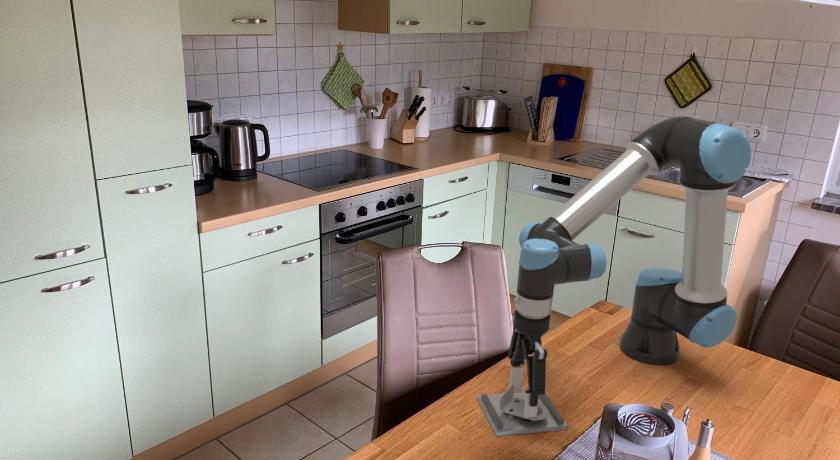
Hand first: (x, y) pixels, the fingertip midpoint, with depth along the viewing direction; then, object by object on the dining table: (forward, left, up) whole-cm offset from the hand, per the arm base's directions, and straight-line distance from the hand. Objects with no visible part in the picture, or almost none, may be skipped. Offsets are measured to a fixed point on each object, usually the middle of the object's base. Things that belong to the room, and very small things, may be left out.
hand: (522, 403), depth 144 cm
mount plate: (0, 0, -3) cm, 3 cm away
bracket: (0, +1, -1) cm, 1 cm away
